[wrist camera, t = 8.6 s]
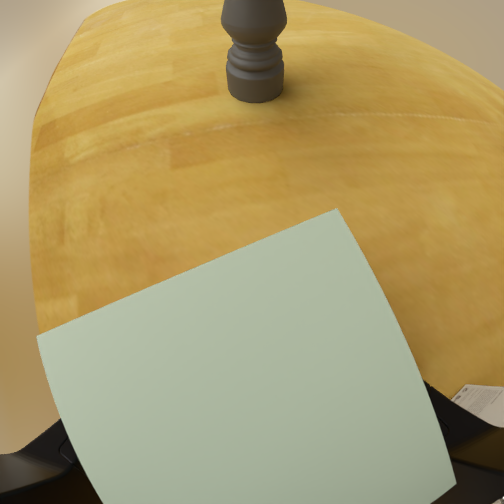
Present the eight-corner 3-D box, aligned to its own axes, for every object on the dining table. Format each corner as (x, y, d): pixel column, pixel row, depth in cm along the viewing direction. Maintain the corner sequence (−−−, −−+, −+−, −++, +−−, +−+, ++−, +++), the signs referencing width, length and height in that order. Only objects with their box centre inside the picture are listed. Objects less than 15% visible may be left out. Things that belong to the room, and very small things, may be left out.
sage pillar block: (231, 430, 14) (172, 590, 2) (195, 351, 16) (36, 336, 4) (314, 395, 15) (456, 483, 3) (277, 317, 16) (336, 208, 4)
